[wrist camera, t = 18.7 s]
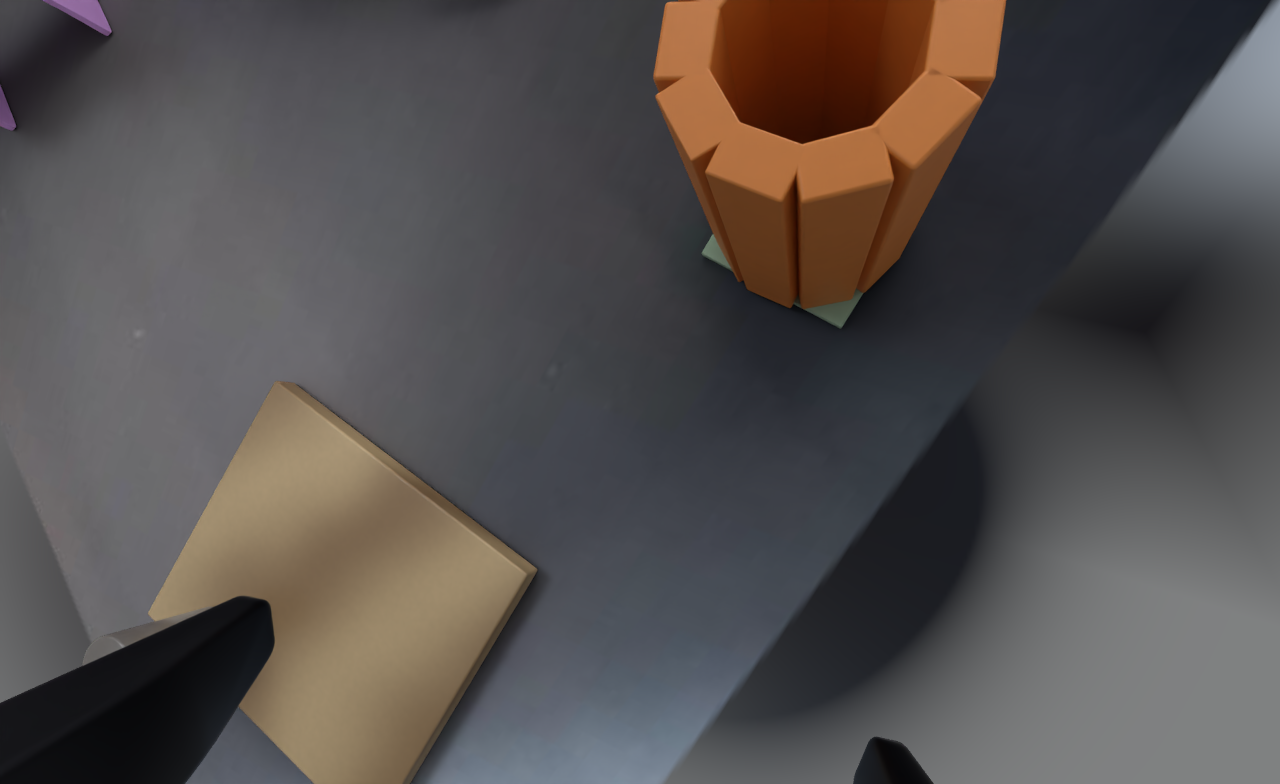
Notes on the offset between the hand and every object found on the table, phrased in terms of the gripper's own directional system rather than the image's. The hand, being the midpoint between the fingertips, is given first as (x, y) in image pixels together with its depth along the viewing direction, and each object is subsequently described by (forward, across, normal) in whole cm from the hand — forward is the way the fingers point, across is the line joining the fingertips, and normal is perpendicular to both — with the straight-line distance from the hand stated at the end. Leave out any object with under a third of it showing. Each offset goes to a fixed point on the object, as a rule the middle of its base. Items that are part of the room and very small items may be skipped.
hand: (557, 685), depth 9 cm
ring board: (+12, +12, +12) cm, 20 cm away
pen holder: (+16, -4, -6) cm, 17 cm away
